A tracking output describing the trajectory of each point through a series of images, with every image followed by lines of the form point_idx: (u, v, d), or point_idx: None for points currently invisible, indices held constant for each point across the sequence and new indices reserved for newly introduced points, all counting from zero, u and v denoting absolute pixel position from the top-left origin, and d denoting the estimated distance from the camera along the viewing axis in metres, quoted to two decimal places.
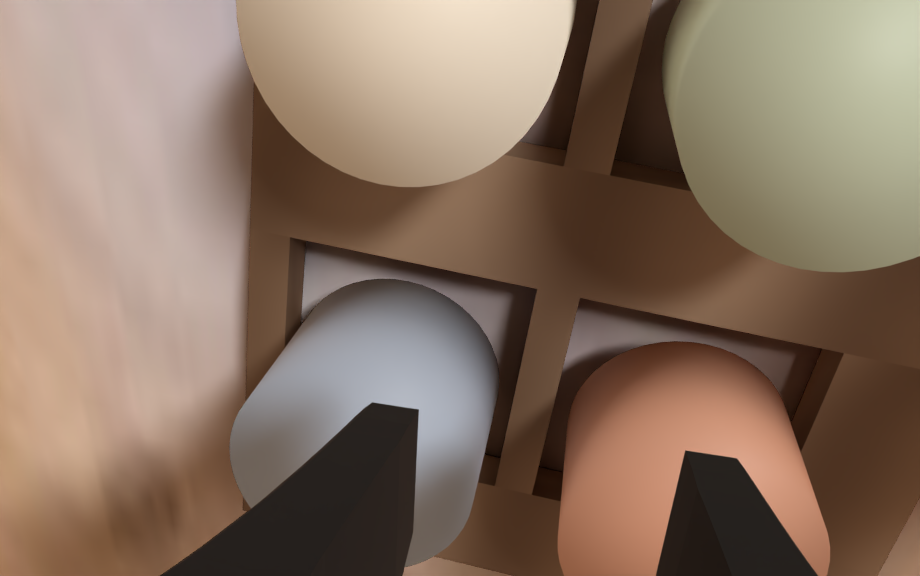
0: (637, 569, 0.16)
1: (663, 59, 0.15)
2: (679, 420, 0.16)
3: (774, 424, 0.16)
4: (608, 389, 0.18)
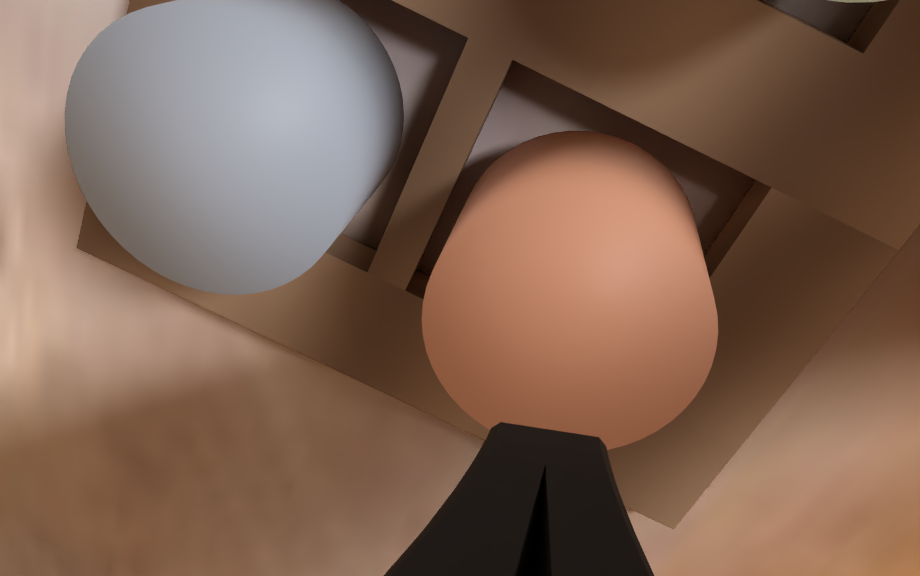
0: (504, 341, 0.14)
1: None
2: (592, 179, 0.14)
3: (688, 222, 0.15)
4: (519, 158, 0.16)
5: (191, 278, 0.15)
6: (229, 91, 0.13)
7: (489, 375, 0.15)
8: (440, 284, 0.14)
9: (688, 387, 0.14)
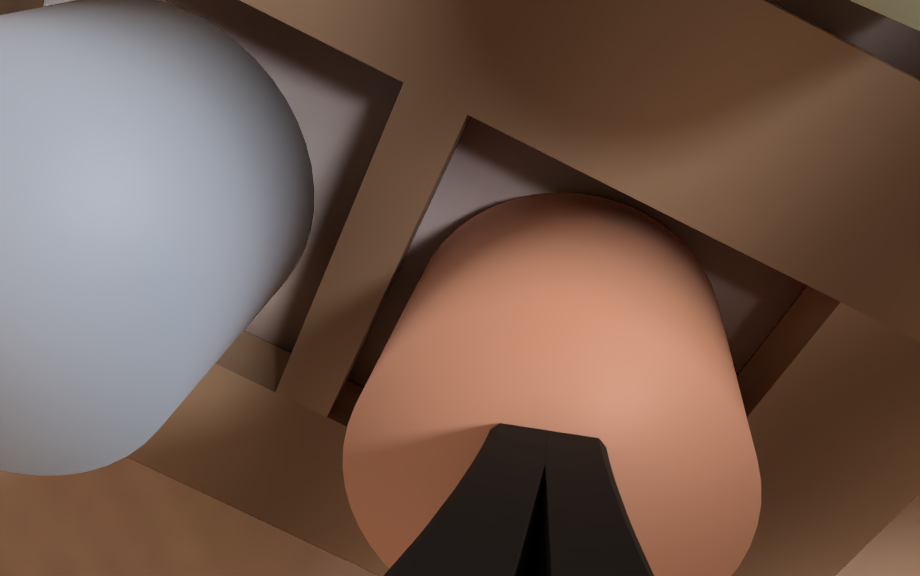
0: None
1: None
2: (582, 281, 0.10)
3: (716, 331, 0.11)
4: (485, 234, 0.12)
5: None
6: None
7: None
8: (366, 423, 0.10)
9: (715, 571, 0.10)
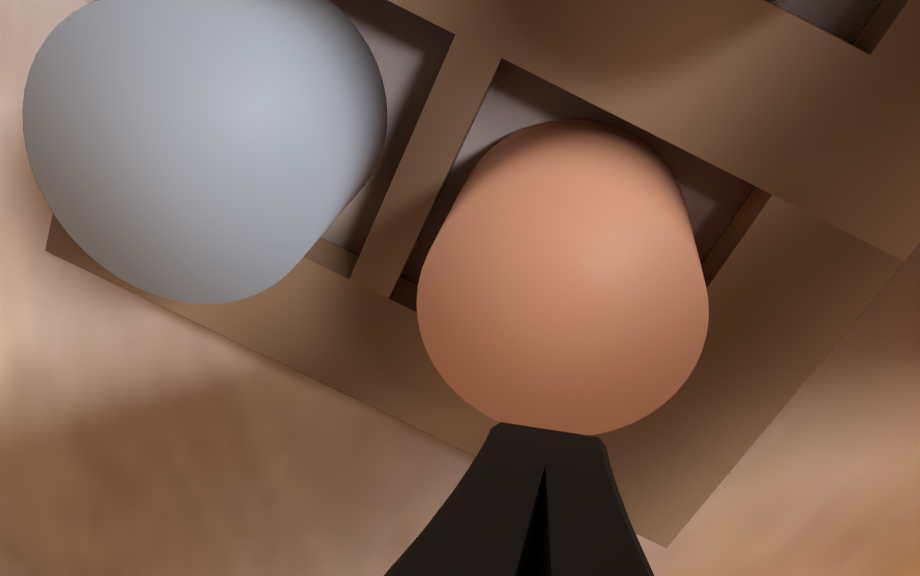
0: (498, 325, 0.15)
1: None
2: (585, 164, 0.14)
3: (680, 208, 0.15)
4: (514, 146, 0.16)
5: (158, 285, 0.14)
6: (198, 88, 0.12)
7: (483, 359, 0.15)
8: (435, 268, 0.14)
9: (679, 371, 0.14)
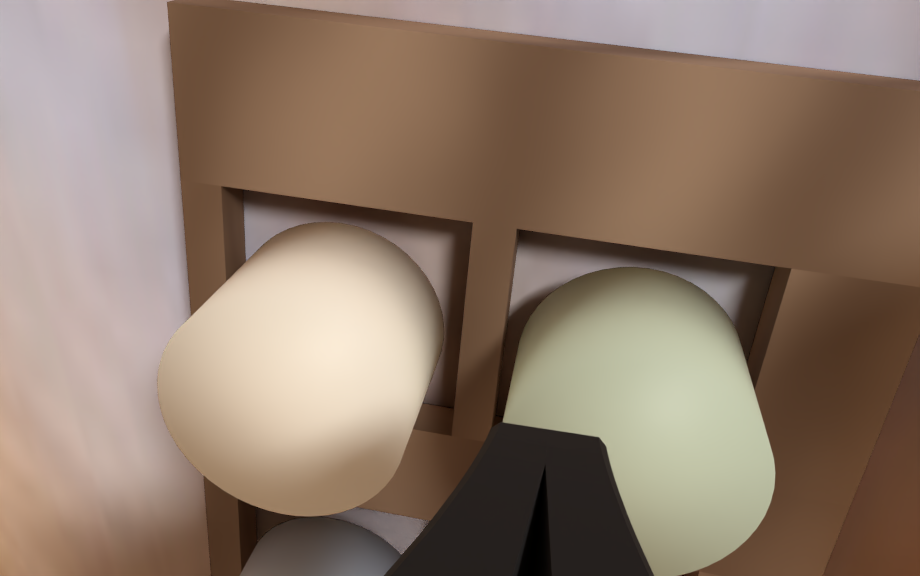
0: None
1: None
2: None
3: None
4: None
5: None
6: None
7: None
8: None
9: None
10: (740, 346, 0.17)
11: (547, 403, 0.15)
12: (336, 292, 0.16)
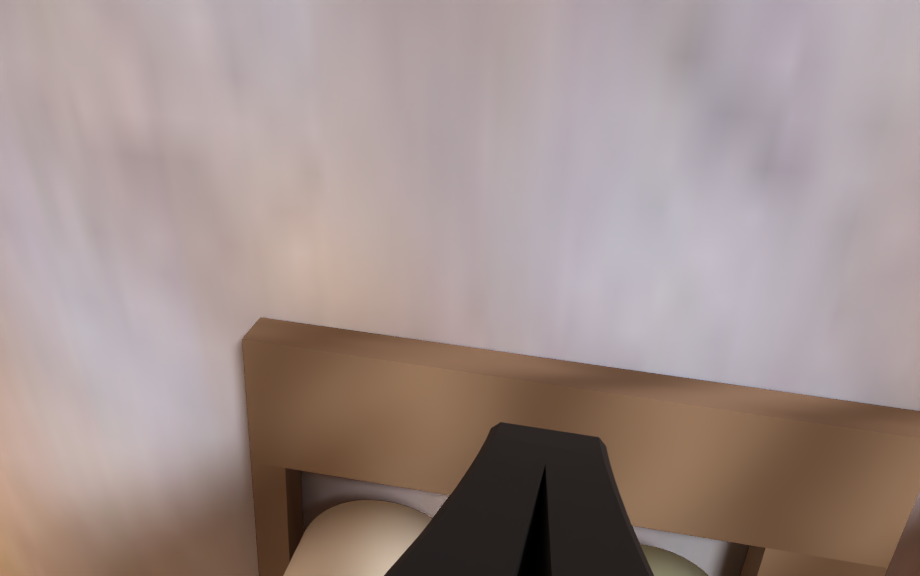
0: None
1: None
2: None
3: None
4: None
5: None
6: None
7: None
8: None
9: None
10: None
11: None
12: None
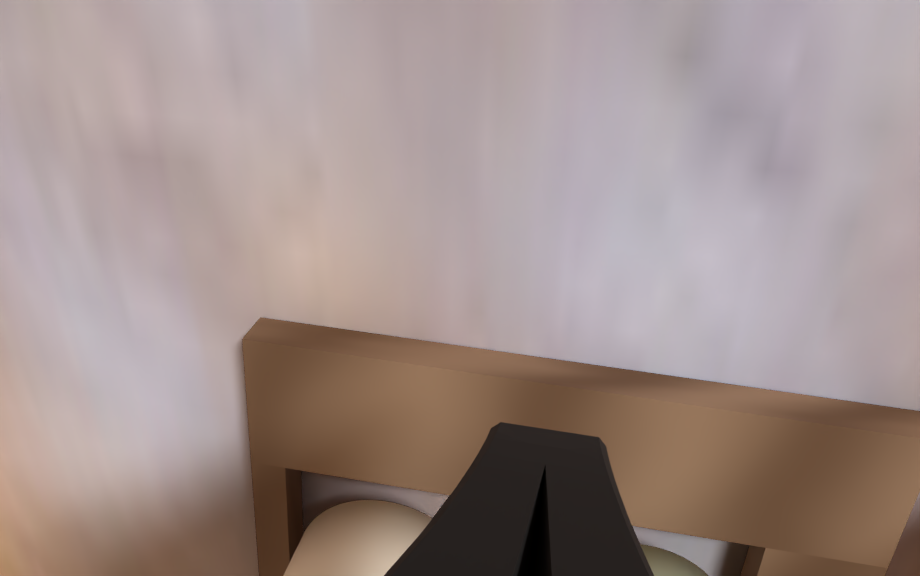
0: None
1: None
2: None
3: None
4: None
5: None
6: None
7: None
8: None
9: None
10: None
11: None
12: None
